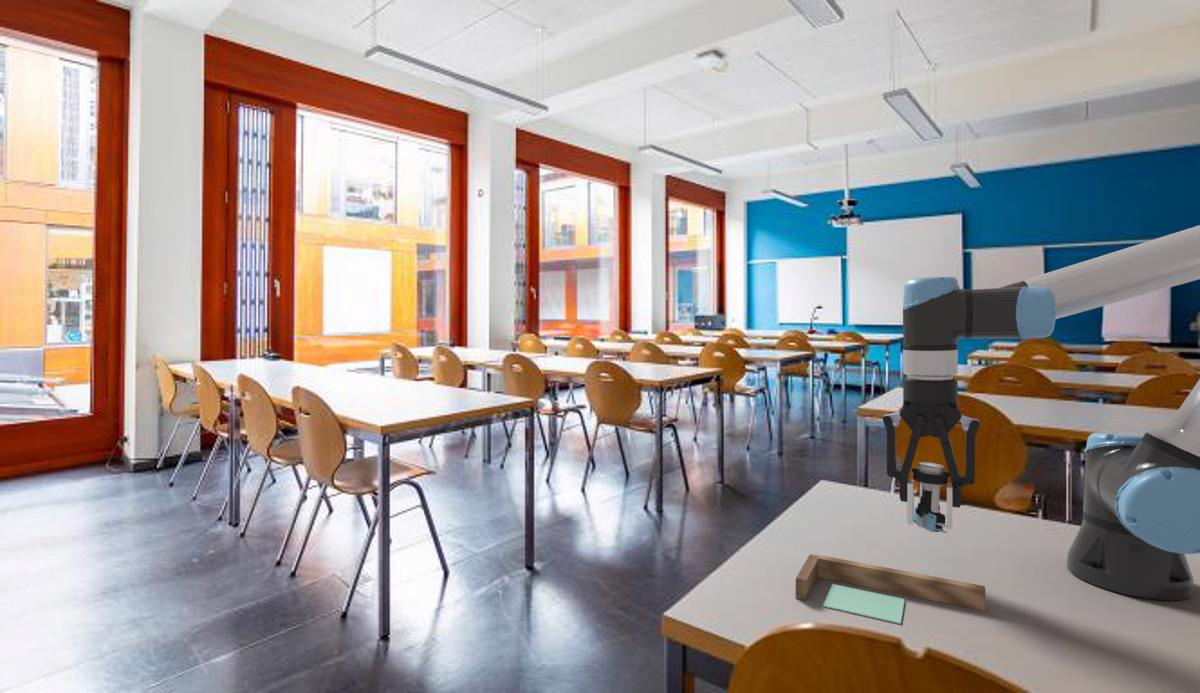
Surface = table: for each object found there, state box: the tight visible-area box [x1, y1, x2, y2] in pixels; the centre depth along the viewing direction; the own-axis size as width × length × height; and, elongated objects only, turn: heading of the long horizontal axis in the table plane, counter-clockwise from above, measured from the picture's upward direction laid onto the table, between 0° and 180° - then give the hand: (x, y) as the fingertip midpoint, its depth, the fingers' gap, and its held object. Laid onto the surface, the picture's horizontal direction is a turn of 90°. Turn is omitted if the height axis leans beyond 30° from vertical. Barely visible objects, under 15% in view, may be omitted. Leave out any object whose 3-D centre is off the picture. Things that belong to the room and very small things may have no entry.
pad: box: [822, 583, 906, 625], centre depth 90 cm, size 10×8×1 cm
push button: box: [911, 461, 950, 534], centre depth 98 cm, size 7×5×10 cm
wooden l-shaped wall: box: [794, 553, 986, 612], centre depth 90 cm, size 24×11×3 cm, turn 61°
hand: (929, 524), depth 98 cm, fingers closed on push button, 5 cm apart
